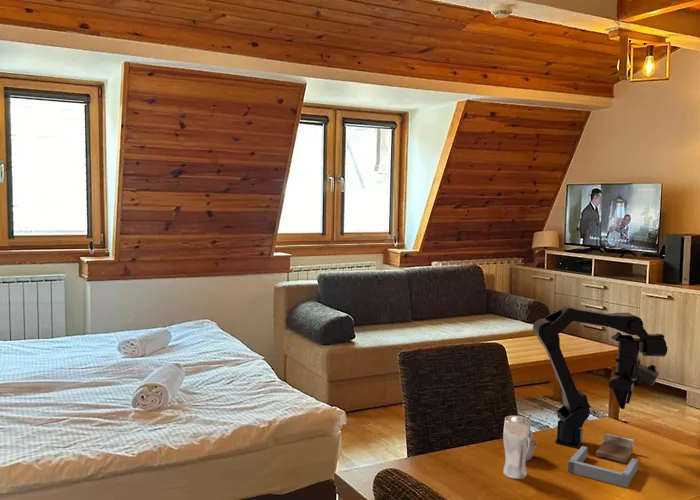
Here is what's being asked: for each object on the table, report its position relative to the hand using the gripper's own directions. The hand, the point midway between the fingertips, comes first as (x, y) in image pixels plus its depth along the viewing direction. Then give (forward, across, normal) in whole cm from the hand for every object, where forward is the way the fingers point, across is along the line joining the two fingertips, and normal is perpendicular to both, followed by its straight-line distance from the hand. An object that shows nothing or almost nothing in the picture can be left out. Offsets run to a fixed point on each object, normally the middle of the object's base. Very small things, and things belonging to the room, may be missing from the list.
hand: (624, 406), depth 189 cm
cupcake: (+12, -29, +21) cm, 38 cm away
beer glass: (+12, -41, +18) cm, 47 cm away
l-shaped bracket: (+12, -10, 0) cm, 16 cm away
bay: (+12, -23, 0) cm, 26 cm away
